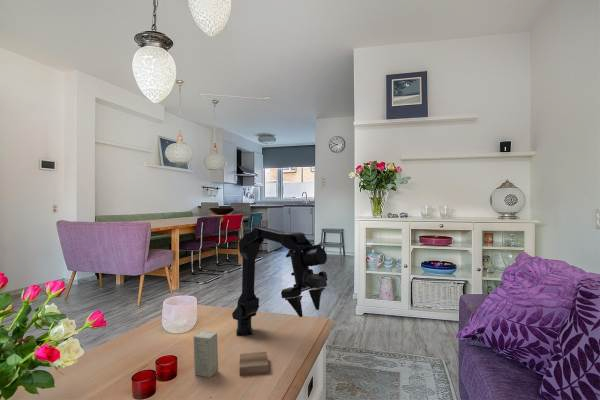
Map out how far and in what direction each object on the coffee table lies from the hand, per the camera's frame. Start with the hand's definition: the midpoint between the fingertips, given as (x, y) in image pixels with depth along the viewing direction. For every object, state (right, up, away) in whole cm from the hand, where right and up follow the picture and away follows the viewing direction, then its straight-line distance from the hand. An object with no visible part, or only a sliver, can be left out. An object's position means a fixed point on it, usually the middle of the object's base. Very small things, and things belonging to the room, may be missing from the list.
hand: (309, 313), depth 111 cm
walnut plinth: (-18, -15, -6) cm, 25 cm away
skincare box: (-33, -16, -9) cm, 38 cm away
